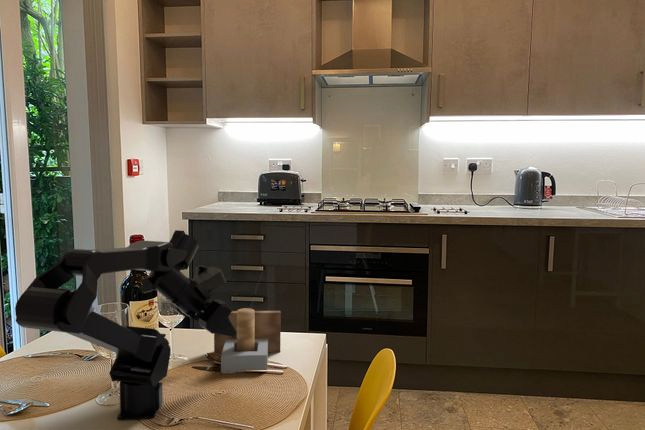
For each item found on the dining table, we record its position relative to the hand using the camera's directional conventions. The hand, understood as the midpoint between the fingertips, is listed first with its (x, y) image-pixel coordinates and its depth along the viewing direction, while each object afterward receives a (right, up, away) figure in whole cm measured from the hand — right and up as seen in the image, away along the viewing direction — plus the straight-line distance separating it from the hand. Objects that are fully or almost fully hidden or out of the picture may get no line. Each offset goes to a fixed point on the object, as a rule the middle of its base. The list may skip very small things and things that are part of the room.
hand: (225, 328), depth 103 cm
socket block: (+4, -9, +5) cm, 11 cm away
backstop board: (+3, -8, +12) cm, 15 cm away
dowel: (+4, -9, +5) cm, 11 cm away
